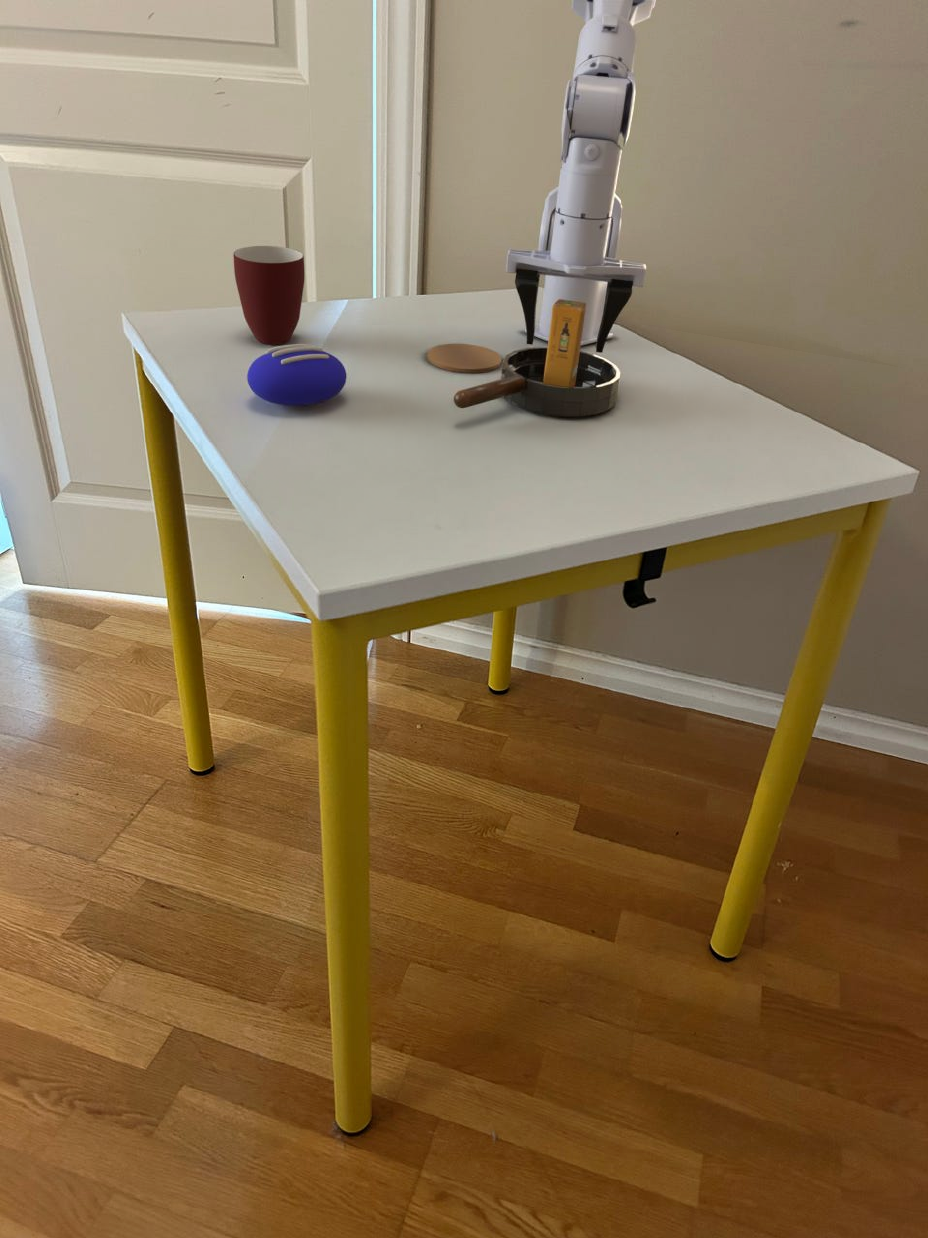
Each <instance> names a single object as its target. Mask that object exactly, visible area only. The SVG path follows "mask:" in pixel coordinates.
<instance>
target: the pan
mask: <svg viewBox="0 0 928 1238" xmlns="http://www.w3.org/2000/svg"><path fill="white" fill-rule="evenodd" d="M547 349H548V346H533V347H524V348H520V349H516V350H513V351H511V352H510V353H508V354H506V355H505V356H504V358H503V361H502V364H501V376H500V380H501V379H504V378H508V377H512V376H515V375H520V376H522V377H523V378H524V379H525V382H526V386H525V388H524V390H523V391H521V392H519V393H515V394H512V395H509V396H505V397H504V398H506V399H507V400H508V401H509V402H511V403H513V404H514V405H515V406H518V407H520V408H522V409H525V410H527V411H530V412H532V413H536V414H540V415H544V416H551V417H558V418H584V417H590V416H595V415H598V414H601V413H604V412H606V411H608V410H610V409H611V408H612V407H613V406H615V405H616V401H617V394H618V391H619V390H618V388H619V383H620V378H621V370H620V369H619V368H618V366H617V365H616V364H615V363H613V362H611V361H610V360H609V359H607V358H605V357H602V356H599V355H598V354H594V353H591V352H587V351H583V350H580V353H579V361H578V367H577V374H576V381H575V387H565V386H558V385H551V384H545V383H543V379H544V372H545V364H546V356H547Z"/></svg>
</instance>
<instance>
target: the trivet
mask: <svg viewBox="0 0 928 1238" xmlns="http://www.w3.org/2000/svg"><path fill="white" fill-rule="evenodd" d="M427 360H428V362H429V363H431V364H432V365H433V366H435V367H437V368H439V369H443V370H445V371H449V372H455V373H462V374H463V373H464V374H466V373H467V374H481V373H487V372H491V371H494V370H496V369H498V368H499V367H500V366H501V365H502V356H501V355H500V354H499V353H498V352H496V351H495V350H493V349H490V348H488V347H485V346H481V345H477V344H476V345H475V344H469V343H446V344H445V343H444V344H439V345H436V346H433V347H432V348H430V349H429V350H428V351H427Z"/></svg>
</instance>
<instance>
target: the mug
mask: <svg viewBox="0 0 928 1238" xmlns="http://www.w3.org/2000/svg"><path fill="white" fill-rule="evenodd" d="M232 256H233V272H234V279H235V283H236V288H237V293H238V297H239V300H240V305H241V309H242V313H243V316H244V317H243V318H244V320H245V322H246V324H247V326H248V328H249V329H250V332H251V333H252V334H253V336H254V338H255V340H256V341H257V342H258V343H261V344H264V345H269V346H270V345H271V346H278V345H279V346H280V345H284V344H287V343H289V342H290V340H291V339H292V336H293V334H294V332H295V331H296V328H297V326H298V324H299V321H300V316H301V309H302V303H303V302H302V301H303V296H304V295H303V294H304V287H305V276H306V275H305V274H306V273H305V255H304V253H302V252H301V251H299V250H296V249H293V248H289V247H286V246H285V247H283V246H275V245H252V246H245V247H241V248H238V249H236V250H235V251H234V252H233V255H232Z"/></svg>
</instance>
